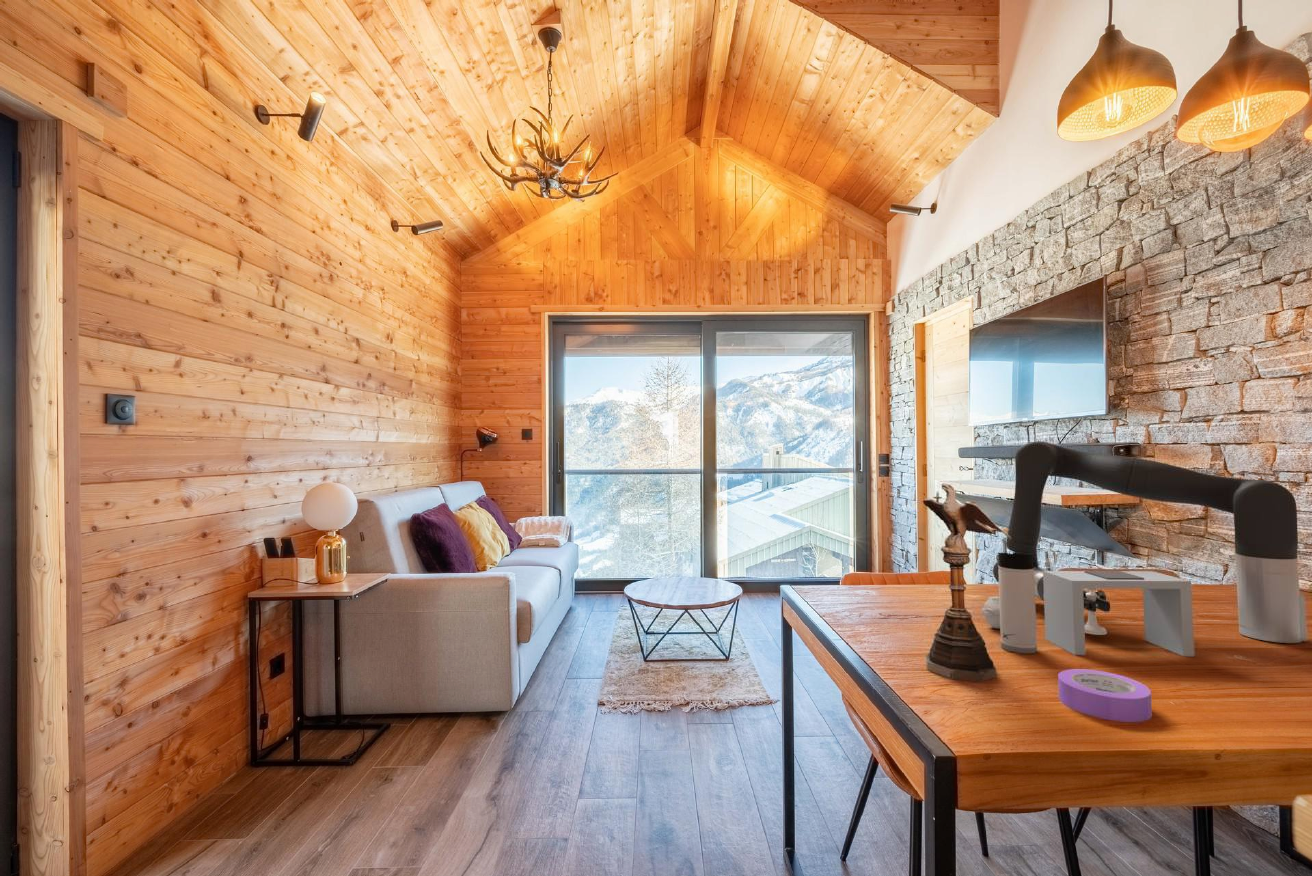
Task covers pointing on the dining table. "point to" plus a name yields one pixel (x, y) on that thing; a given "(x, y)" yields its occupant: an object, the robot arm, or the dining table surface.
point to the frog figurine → (992, 612)
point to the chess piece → (1093, 618)
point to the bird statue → (960, 595)
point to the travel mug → (1017, 602)
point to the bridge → (1161, 593)
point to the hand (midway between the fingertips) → (1101, 606)
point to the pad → (1113, 575)
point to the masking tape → (1105, 695)
